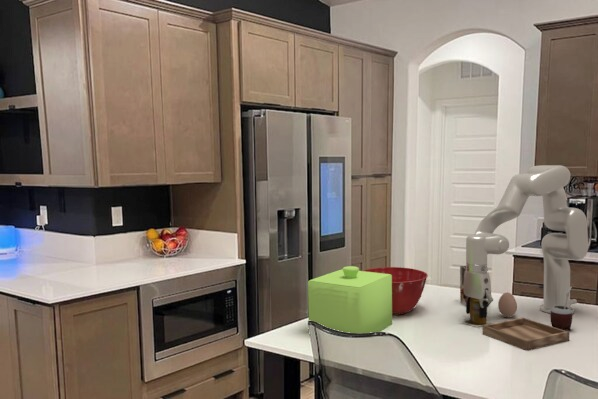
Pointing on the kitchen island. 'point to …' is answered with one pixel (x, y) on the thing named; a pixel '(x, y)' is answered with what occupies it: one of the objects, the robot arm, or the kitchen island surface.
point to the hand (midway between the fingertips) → (476, 314)
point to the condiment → (475, 314)
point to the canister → (351, 300)
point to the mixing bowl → (404, 287)
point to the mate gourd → (561, 316)
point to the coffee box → (462, 283)
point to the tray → (525, 333)
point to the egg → (507, 305)
